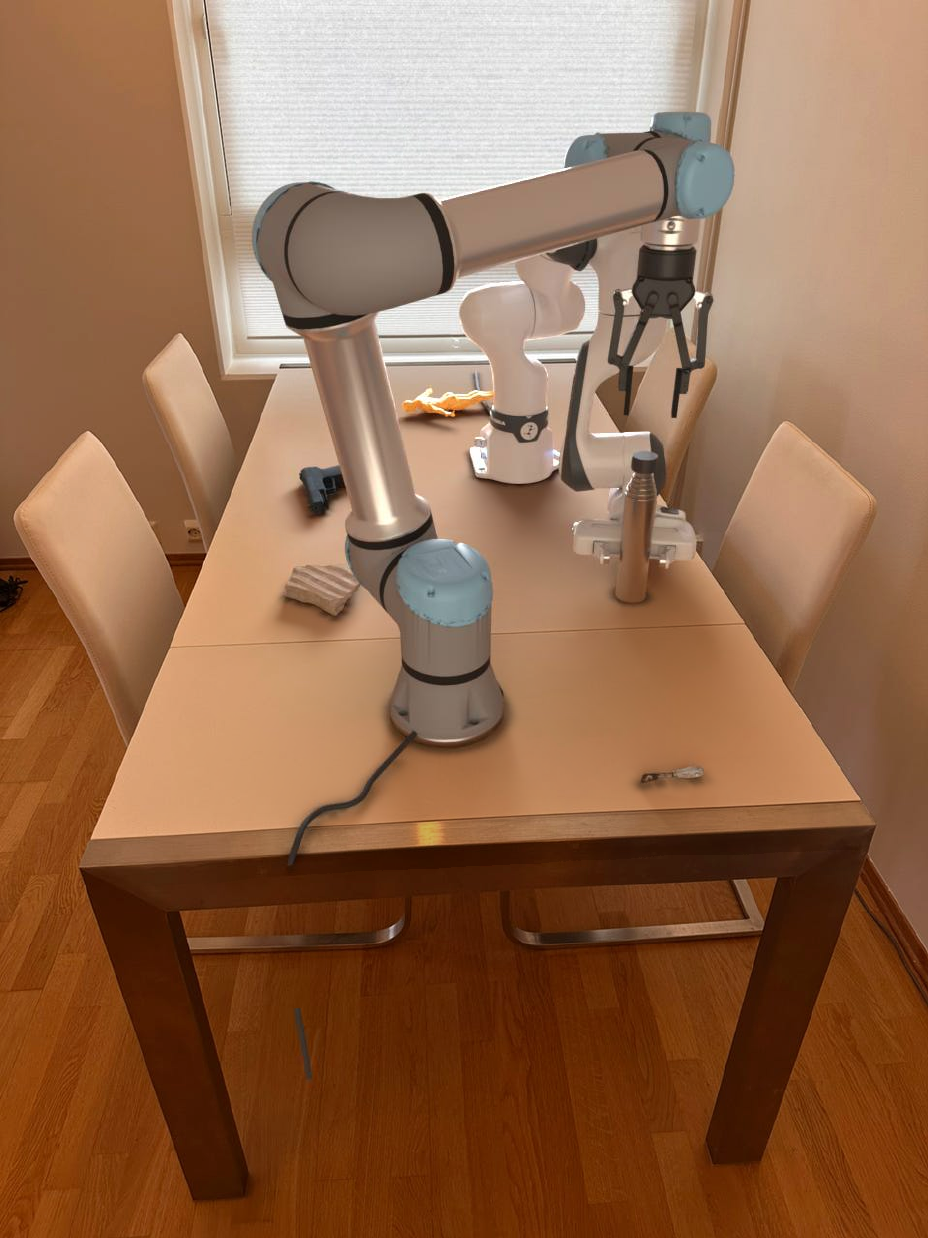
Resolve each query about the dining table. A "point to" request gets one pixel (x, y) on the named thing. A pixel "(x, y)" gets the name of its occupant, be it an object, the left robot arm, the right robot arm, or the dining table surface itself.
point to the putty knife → (674, 774)
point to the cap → (644, 462)
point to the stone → (322, 586)
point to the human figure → (445, 402)
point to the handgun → (320, 485)
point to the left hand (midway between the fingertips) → (650, 413)
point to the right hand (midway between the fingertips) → (634, 562)
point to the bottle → (636, 538)
